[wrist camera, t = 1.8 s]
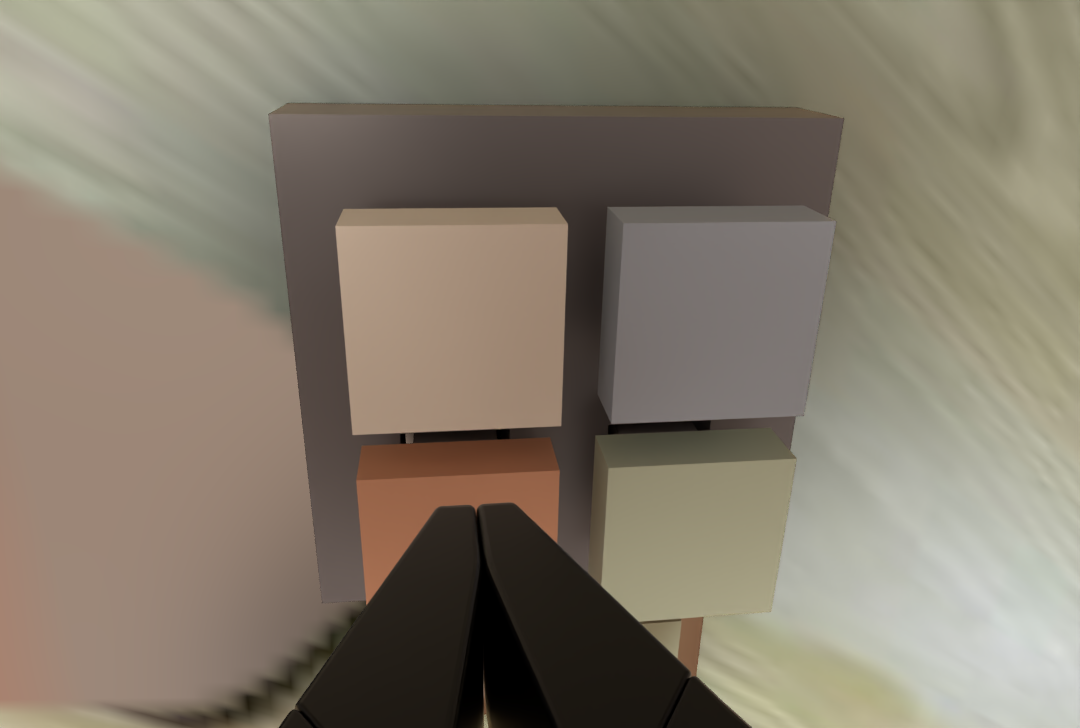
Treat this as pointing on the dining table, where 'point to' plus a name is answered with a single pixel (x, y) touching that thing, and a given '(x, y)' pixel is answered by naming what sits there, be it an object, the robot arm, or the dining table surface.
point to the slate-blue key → (710, 311)
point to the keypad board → (509, 182)
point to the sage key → (689, 518)
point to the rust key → (447, 488)
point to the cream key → (453, 317)
